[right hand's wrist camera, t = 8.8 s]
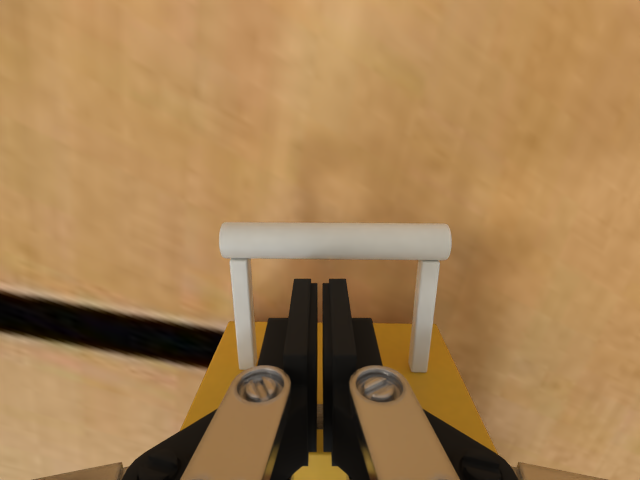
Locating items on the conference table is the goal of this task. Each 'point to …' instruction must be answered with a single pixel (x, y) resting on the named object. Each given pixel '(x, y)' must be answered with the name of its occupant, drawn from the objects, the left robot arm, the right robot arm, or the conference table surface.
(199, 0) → the conference table surface
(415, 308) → the drawer
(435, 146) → the conference table surface
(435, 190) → the conference table surface
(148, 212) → the conference table surface
